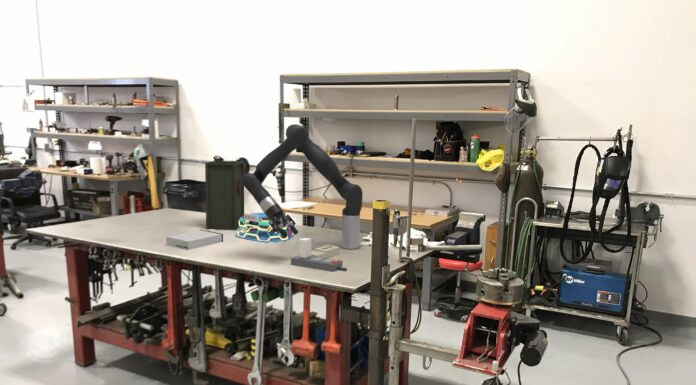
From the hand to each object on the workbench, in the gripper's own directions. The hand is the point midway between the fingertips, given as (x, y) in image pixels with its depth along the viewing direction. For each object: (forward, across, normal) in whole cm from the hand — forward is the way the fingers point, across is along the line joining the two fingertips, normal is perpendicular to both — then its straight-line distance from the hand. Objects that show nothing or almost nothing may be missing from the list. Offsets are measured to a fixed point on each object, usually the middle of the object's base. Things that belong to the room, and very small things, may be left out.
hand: (291, 235), depth 225 cm
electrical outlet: (+14, +16, +4) cm, 22 cm away
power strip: (+20, 0, -2) cm, 20 cm away
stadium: (-22, +38, +40) cm, 59 cm away
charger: (+14, 0, +4) cm, 14 cm away
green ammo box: (-48, +48, +65) cm, 94 cm away
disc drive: (-36, +5, +54) cm, 65 cm away
